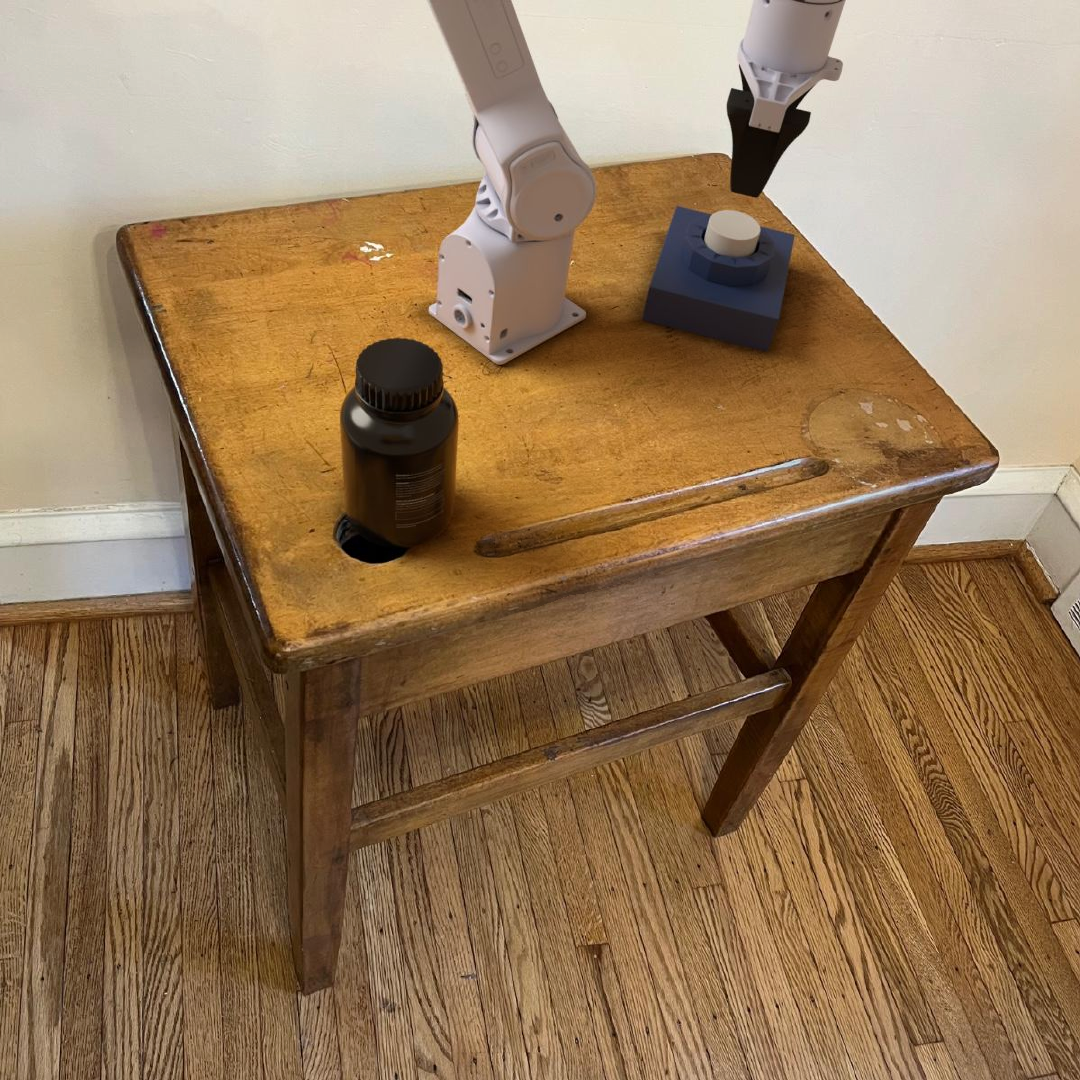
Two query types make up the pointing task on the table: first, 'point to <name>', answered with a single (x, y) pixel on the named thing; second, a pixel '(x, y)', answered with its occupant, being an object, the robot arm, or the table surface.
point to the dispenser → (718, 284)
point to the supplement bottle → (399, 445)
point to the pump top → (732, 233)
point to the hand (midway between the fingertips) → (748, 176)
